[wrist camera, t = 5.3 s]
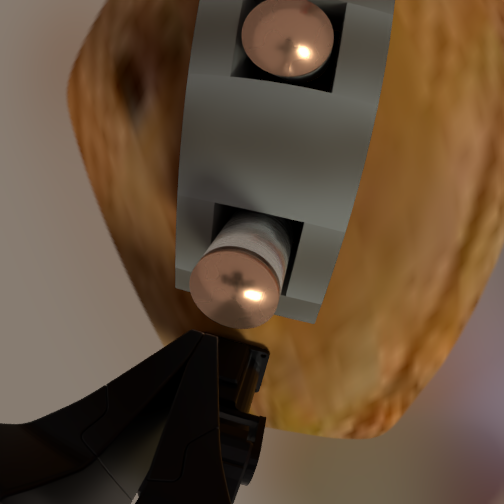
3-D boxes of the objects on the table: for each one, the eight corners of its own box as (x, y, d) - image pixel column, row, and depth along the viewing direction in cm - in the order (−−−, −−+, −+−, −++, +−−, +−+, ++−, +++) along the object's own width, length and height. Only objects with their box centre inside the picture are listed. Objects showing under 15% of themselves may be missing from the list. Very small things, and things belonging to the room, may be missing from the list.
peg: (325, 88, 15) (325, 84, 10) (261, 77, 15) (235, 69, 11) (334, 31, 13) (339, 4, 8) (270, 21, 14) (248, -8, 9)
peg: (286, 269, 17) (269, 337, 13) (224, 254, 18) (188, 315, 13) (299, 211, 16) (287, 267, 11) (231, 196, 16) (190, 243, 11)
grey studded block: (319, 267, 21) (314, 323, 16) (209, 241, 22) (175, 287, 17) (374, 19, 13) (396, -12, 8) (241, -2, 14) (207, -36, 9)
